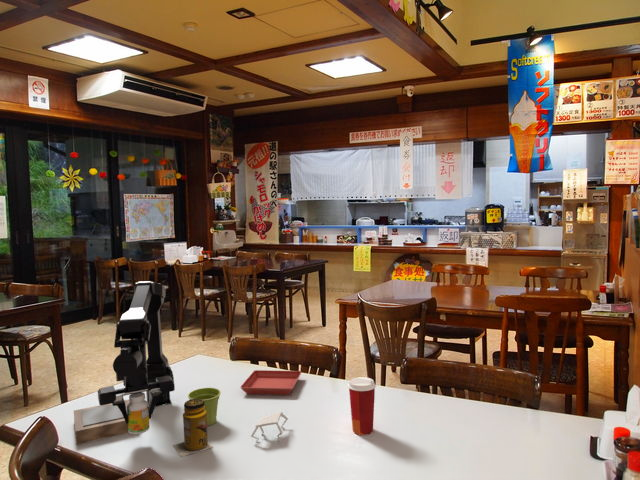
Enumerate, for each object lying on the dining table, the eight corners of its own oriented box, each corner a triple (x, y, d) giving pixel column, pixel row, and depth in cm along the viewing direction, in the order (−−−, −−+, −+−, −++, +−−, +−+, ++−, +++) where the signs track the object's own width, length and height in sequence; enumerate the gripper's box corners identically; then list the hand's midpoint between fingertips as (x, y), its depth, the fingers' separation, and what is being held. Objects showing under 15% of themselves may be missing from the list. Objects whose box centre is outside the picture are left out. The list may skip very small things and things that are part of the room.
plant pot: (228, 418, 147) (227, 389, 146) (208, 431, 138) (207, 401, 138) (203, 413, 151) (201, 385, 150) (182, 426, 142) (181, 397, 142)
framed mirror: (131, 410, 154) (130, 398, 154) (138, 430, 140) (137, 416, 140) (74, 422, 147) (73, 409, 147) (76, 444, 133) (75, 430, 132)
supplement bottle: (123, 433, 130) (121, 397, 129) (138, 424, 135) (136, 390, 134) (139, 436, 128) (137, 399, 127) (153, 427, 133) (152, 392, 132)
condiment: (213, 447, 129) (211, 403, 128) (181, 457, 124) (179, 411, 124) (203, 437, 135) (201, 394, 134) (172, 446, 130) (170, 402, 130)
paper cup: (379, 426, 138) (378, 377, 137) (373, 438, 131) (372, 387, 130) (352, 423, 141) (351, 375, 140) (345, 435, 134) (343, 384, 133)
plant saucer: (254, 378, 182) (254, 369, 182) (302, 379, 179) (302, 370, 179) (239, 397, 164) (239, 387, 164) (292, 398, 162) (292, 388, 161)
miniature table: (277, 447, 128) (277, 429, 127) (249, 443, 131) (248, 425, 131) (296, 428, 139) (296, 411, 139) (270, 424, 142) (269, 407, 142)
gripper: (165, 350, 142) (168, 403, 143) (94, 362, 133) (98, 418, 134) (173, 360, 132) (176, 417, 133) (97, 373, 123) (101, 434, 124)
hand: (138, 420), depth 131 cm, fingers closed on supplement bottle, 5 cm apart
